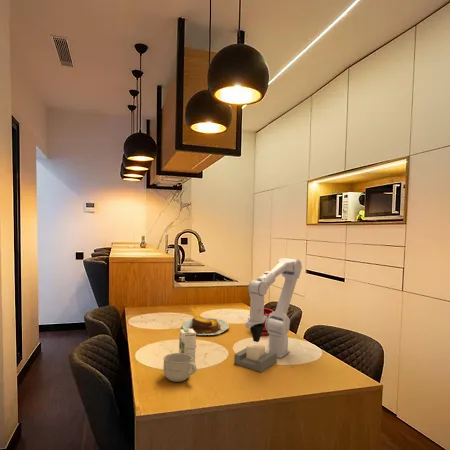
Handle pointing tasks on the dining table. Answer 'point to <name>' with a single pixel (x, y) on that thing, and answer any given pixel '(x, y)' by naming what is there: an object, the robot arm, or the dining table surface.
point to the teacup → (178, 366)
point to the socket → (256, 365)
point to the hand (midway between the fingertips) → (256, 341)
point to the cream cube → (255, 351)
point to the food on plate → (206, 325)
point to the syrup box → (187, 342)
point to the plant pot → (264, 331)
